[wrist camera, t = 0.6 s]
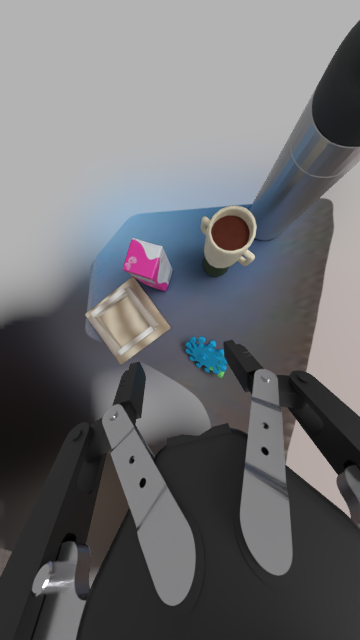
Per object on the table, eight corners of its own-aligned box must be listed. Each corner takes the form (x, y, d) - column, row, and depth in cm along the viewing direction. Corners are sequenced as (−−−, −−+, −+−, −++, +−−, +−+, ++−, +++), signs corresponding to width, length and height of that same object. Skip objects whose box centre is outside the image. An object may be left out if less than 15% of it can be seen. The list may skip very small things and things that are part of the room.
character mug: (242, 267, 32) (278, 232, 19) (223, 290, 32) (244, 272, 19) (207, 239, 32) (219, 186, 19) (188, 262, 33) (187, 226, 20)
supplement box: (151, 263, 34) (131, 235, 22) (173, 270, 33) (164, 245, 22) (144, 285, 34) (121, 269, 22) (166, 292, 33) (153, 279, 22)
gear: (176, 344, 32) (206, 335, 24) (189, 331, 36) (218, 319, 28) (202, 379, 33) (238, 380, 25) (212, 362, 37) (246, 359, 29)
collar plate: (134, 277, 34) (128, 273, 30) (171, 327, 33) (169, 329, 30) (88, 314, 35) (76, 314, 32) (122, 363, 35) (115, 368, 31)
